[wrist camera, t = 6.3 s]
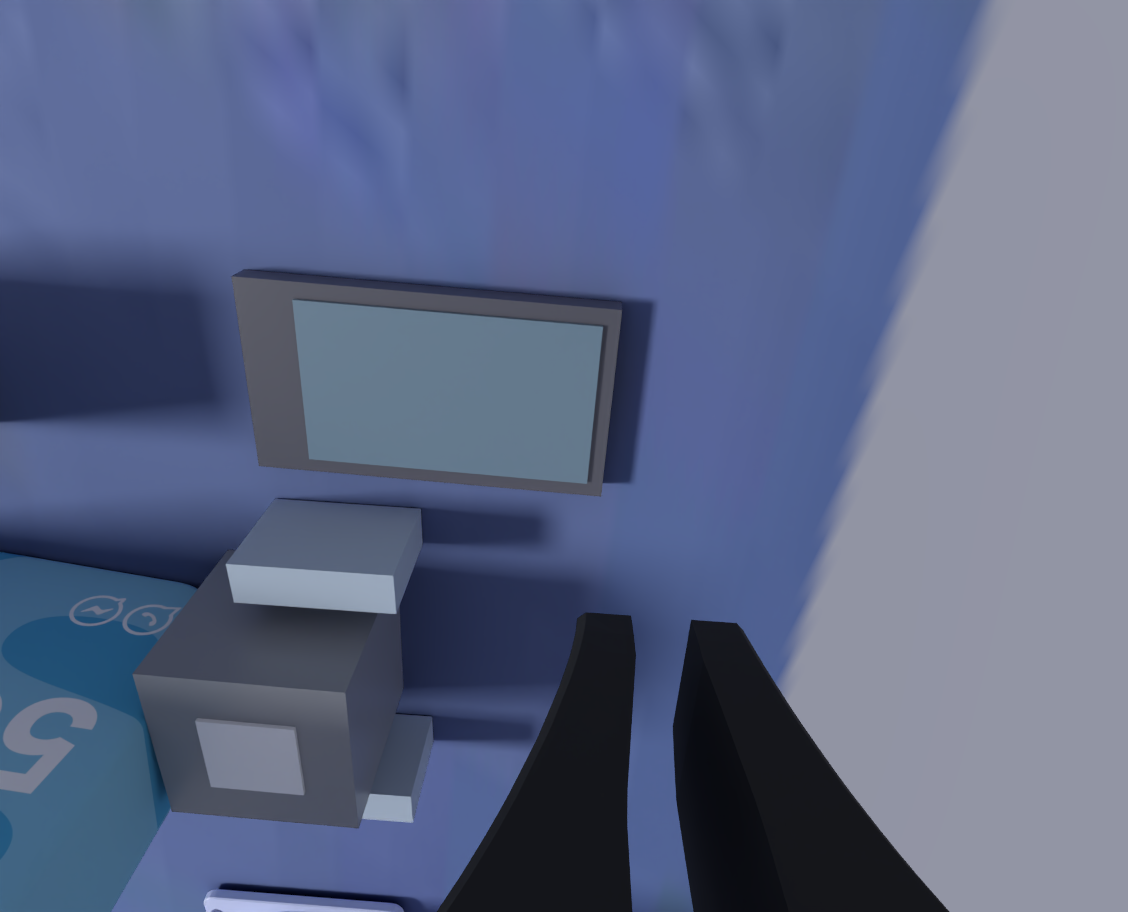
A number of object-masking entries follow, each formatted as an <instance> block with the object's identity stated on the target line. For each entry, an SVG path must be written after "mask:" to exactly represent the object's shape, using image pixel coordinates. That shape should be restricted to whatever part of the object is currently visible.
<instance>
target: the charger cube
mask: <svg viewBox="0 0 1128 912" xmlns="http://www.w3.org/2000/svg"><path fill="white" fill-rule="evenodd" d="M234 552H235V550H227V552H226V553H225V554H224V556H223V557H222V558H221V559H220V561H219V562H218V563H217V565H216V566H215V567H214V569H213V570H212V571H211V572H210V574H209V575H208V576H207V578H206V579H205V580H204V582H203V583H202V584H201V585H200V587H199V588H198V589H197V591H196V592H195V593H194V595H193V596H192V597H191V598H190V600H189V601H188V602H187V604H186V605H185V606H184V608H183V609H182V610H181V611H180V613H179V614H178V615H177V617H176V618H175V619H174V621H173V622H172V623H171V624H170V626H169V627H168V628H167V630H166V631H165V632H164V634H163V635H162V636H161V637H160V639H159V640H158V641H157V643H156V644H155V645H154V646H153V648H152V649H151V650H150V652H149V653H148V654H147V656H146V657H145V658H144V659H143V661H142V662H141V663H140V665H139V666H138V667H137V669H136V670H135V671H134V672H133V674H132V675H133V678H134V681H135V685H136V688H137V692H138V695H139V699H140V702H141V706H142V709H143V713H144V716H145V720H146V723H147V726H148V730H149V733H150V737H151V740H152V744H153V747H154V751H155V754H156V758H157V761H158V765H159V768H160V771H161V775H162V778H163V782H164V785H165V789H166V792H167V796H168V799H169V803H170V806H171V810H172V812H183V813H194V814H205V815H217V816H228V817H239V818H250V819H261V820H272V821H283V822H294V823H305V824H316V825H327V826H338V827H350V828H359V826H360V823H361V820H362V817H363V813H364V810H365V807H366V804H367V801H368V798H369V795H370V792H371V788H372V785H373V782H374V779H375V776H376V773H377V770H378V766H379V763H380V760H381V757H382V754H383V751H384V748H385V745H386V741H387V738H388V735H389V732H390V729H391V726H392V723H393V719H394V716H395V713H396V710H397V707H398V704H399V701H400V698H401V694H402V691H403V669H402V647H401V626H400V606H399V608H398V611H397V614H388V613H374V612H360V611H346V610H332V609H318V608H304V607H290V606H276V605H262V604H248V603H234V600H233V596H232V591H231V586H230V582H229V577H228V573H227V568H226V563H227V562H228V560H229V559H230V558H231V556H232V555H233V554H234Z"/></svg>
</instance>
